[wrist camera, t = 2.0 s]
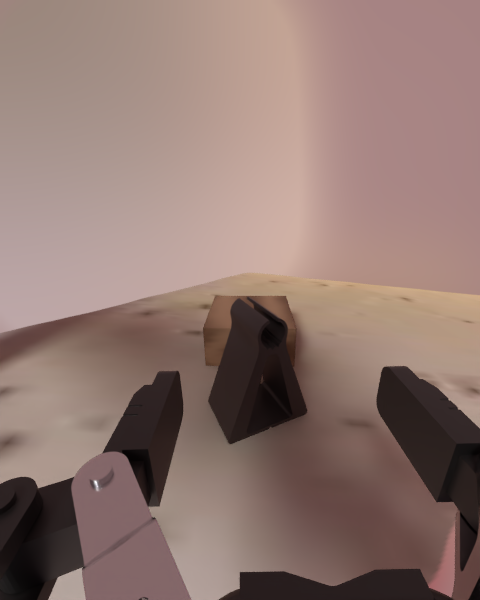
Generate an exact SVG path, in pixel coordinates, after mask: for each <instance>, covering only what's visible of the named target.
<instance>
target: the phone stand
mask: <svg viewBox="0 0 480 600" xmlns="http://www.w3.org/2000/svg"><path fill="white" fill-rule="evenodd" d="M247 300H249V301H250V302H251V303H253V305H254V309H253V308H252V307H251V306H249V305H248V304H247V303H245V302H244V301H243V300H241V299H240V298H238V299H237V300H236V301H235V302H234V303H233V304H232V306H231V310H230V315H231V321H232V324H231V330H230V333H229V336H228V339H227V342H226V346H225V349H224V352H223V355H222V358H221V362H220V365H219V368H218V371H217V374H216V378H215V381H214V384H213V387H212V390H211V394H210V397H209V400H208V402H209V404H210V406H211V408H212V410H213V412H214V414H215V416H216V418H217V420H218V422H219V424H220V426H221V428H222V430H223V432H224V434H225V436H226V438H227V440H228V442H229V443H230V444H232V443H235V442H237V441H240V440H242V439H245V438H247V437H250V436H252V435H255V434H257V433H260V432H262V431H265V430H267V429H269V427H275V426H277V425H280V424H282V423H285V422H287V421H290V420H292V419H295V418H297V417H299V416H302V415H304V414H306V412H307V409H306V406H305V402H304V399H303V396H302V393H301V390H300V387H299V384H298V381H297V378H296V375H295V372H294V369H293V366H292V363H291V360H290V357H289V354H288V351H287V346H286V340H287V334H288V327H287V324H286V322H285V321H284V320H282V319H281V318H279V317H278V316H277V315H275V314H274V313H272V312H271V311H269V310H268V309H266V308H265V307H264V306H262V305H261V304H259V303H258V302H256V301H255V300H254V299H252V298H251V297H248V296H247ZM262 375H263V379H264V382H263V383H262V384H260V380H261V376H262Z"/></svg>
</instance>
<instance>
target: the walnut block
mask: <svg viewBox="0 0 480 600" xmlns="http://www.w3.org/2000/svg"><path fill="white" fill-rule="evenodd" d="M248 297H251V298H252V299H254V300H255V301H256V302H258V303H259V304H261V305H262V306H264V307H265V308H266V309H268V310H269V311H271V312H272V313H274V314H275V315H277V316H278V317H279V318H281V319H282V320H284V321H285V322H286V324H287V327H288V334H287V340H286V346H287V351H288V354H289V357H290V360H291V363H292V366H293V367H294V358H295V342H296V326H295V323H294V320H293V317H292V314H291V311H290V308H289V304H288V301H287V298H286V296H248ZM238 298H240V299H241V300H243V301H244V302H245V303H247V304H248V305H249V306H251V307H252V308H253V309H254V305H253V303H251V302H250V301H249V300H247V296H215V298H214V301H213V303H212V306H211V309H210V311H209V314H208V317H207V319H206V322H205V325H204V327H203V333H204V347H205V360H206V365H207V366H219V365H220V362H221V358H222V355H223V352H224V349H225V346H226V342H227V339H228V336H229V333H230V330H231V324H232V321H231V315H230V310H231V306H232V304H233V303H234V302H235V301H236V300H237V299H238Z"/></svg>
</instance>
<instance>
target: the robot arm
mask: <svg viewBox="0 0 480 600" xmlns="http://www.w3.org/2000/svg"><path fill="white" fill-rule="evenodd" d="M377 408H378V411H379V414H380V416H381V417H382V419H383V420H384V422H385V423H386V425H387V426H388V428H389V430H390V431H391V433H392V434H393V436H394V437H395V439H396V440H397V442H398V443H399V445H400V446H401V448H402V450H403V451H404V453H405V454H406V456H407V457H408V459H409V460H410V462H411V463H412V465H413V466H414V468H415V470H416V471H417V473H418V474H419V476H420V477H421V479H422V480H423V482H424V483H425V485H426V486H427V488H428V489H429V491H430V493H431V494H432V496H433V497H434V499H435V500H436V502H454V503H455V505H456V506H457V508H458V510H457V513H456V522H455V581H454V589H453V593H452V598H450V597H449V596H447V595H445V594H442V593H440V592H438V591H436V590H433V589H431V588H429V587H428V585H427V583H426V581H425V579H424V577H423V575H422V573H421V570H420V569H391V570H374V571H371V572H369V573H366V574H364V575H362V576H359V577H357V578H354V579H352V580H350V581H347V582H345V583H342V584H340V585H337V586H329V585H325V584H322V583H319V582H316V581H313V580H309V579H306V578H303V577H300V576H297V575H293V574H290V573H287V572H284V571H283V572H240V589H237V590H235V591H233V592H230V593H229V594H227V595H225V596H224V597H222V598H220V599H219V600H480V428H479V427H478V426H477V425H475V424H474V423H473V422H472V421H471V420H470V419H469V418H468V417H467V416H466V415H465V414H464V413H463V412H462V411H461V410H458V407H457V406H456V405H455V404H453V403H452V402H451V401H449V400H448V398H447V397H446V396H445V395H444V394H443V393H442V392H441V391H440V390H439V389H438V388H436V387H435V386H433V385H431V384H430V383H428V382H426V381H425V380H423V379H419V378H418V377H417V376H416V375H415V374H414V373H413V372H412V371H411V370H410V369H409V368H408V367H406V366H390V367H384V368H383V369H382V372H381V377H380V383H379V388H378V393H377ZM182 417H183V397H182V389H181V381H180V374H179V372H178V371H159V372H158V374H157V376H156V378H155V380H154V382H153V384H152V385H144V386H143V387H142V388H141V389H139V390H138V391H137V392H136V393H135V394H134V395H133V397H132V399H131V401H130V403H129V405H128V407H127V408H126V410H125V412H124V414H123V417H122V418H121V420H120V421H119V423H118V425H117V427H116V429H115V431H114V433H113V434H112V436H111V438H110V440H109V442H108V444H107V446H106V447H105V449H104V451H103V453H102V454H100V455H98V456H96V457H94V458H92V459H91V460H89V461H88V462H87V463H85V464H84V465H83V466H82V467H81V468H80V469H79V471H78V472H77V473H76V475H75V477H73V478H70V479H67V480H64V481H61V482H58V483H54V484H51V485H48V486H45V487H41V488H38V487H37V485H36V482H35V481H34V480H33V479H31V478H29V477H18V478H14V479H11V480H8V481H6V482H3V483H1V484H0V600H48V598H49V596H50V594H51V592H52V589H53V587H54V585H55V582H56V580H57V578H58V577H59V576H62V575H64V574H67V573H69V572H71V571H74V570H76V569H79V568H81V567H83V568H82V575H83V583H84V590H85V596H86V600H191V598H190V596H189V593H188V591H187V589H186V586H185V584H184V582H183V579H182V577H181V575H180V572H179V570H178V568H177V565H176V563H175V561H174V558H173V556H172V554H171V551H170V549H169V547H168V544H167V542H166V540H165V537H164V535H163V533H162V530H161V528H160V526H159V524H158V522H157V520H156V518H155V517H154V518H153V517H152V515H151V513H150V511H149V508H148V507H153V506H160V502H161V498H162V494H163V490H164V487H165V483H166V479H167V475H168V471H169V467H170V464H171V460H172V456H173V452H174V448H175V444H176V441H177V437H178V433H179V429H180V425H181V421H182Z"/></svg>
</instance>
